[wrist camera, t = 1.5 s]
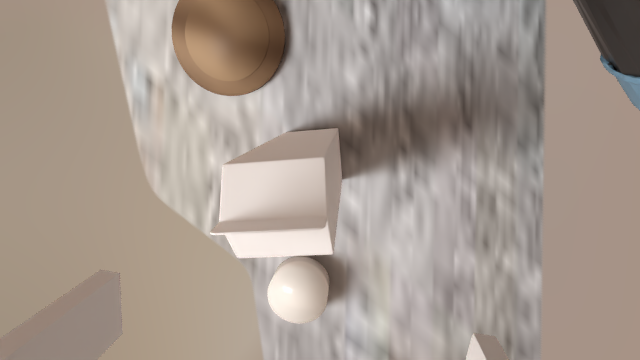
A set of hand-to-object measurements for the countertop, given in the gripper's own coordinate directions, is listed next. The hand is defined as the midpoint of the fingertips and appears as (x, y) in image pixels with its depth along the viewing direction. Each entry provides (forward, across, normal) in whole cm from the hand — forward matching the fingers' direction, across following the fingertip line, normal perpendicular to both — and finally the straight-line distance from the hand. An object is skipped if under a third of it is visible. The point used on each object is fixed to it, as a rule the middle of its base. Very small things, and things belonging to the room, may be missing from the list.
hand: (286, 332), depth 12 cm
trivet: (+26, -13, +13) cm, 32 cm away
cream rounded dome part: (+26, -2, -14) cm, 30 cm away
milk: (+27, -2, +2) cm, 27 cm away
